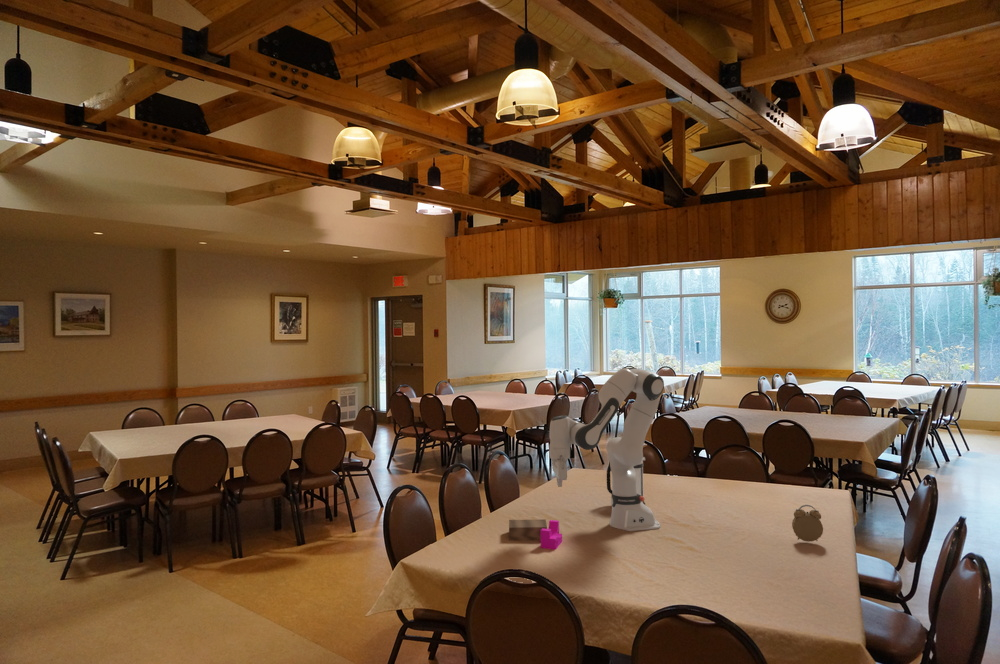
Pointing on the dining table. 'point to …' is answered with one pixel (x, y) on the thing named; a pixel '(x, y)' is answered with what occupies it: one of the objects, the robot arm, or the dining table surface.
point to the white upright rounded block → (639, 475)
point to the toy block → (551, 536)
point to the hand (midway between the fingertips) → (559, 486)
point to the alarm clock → (807, 524)
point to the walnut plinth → (526, 529)
